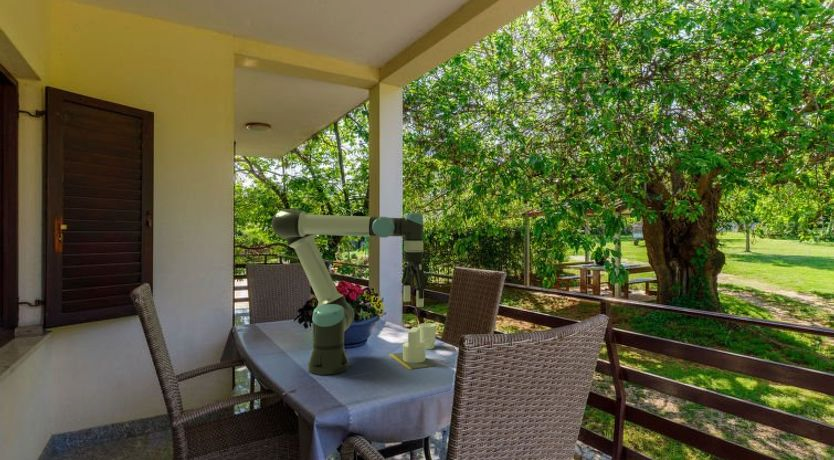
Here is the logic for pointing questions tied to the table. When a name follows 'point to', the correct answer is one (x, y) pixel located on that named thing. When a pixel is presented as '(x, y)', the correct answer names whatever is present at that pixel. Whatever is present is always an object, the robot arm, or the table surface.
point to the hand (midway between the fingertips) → (413, 304)
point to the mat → (408, 365)
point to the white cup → (427, 334)
